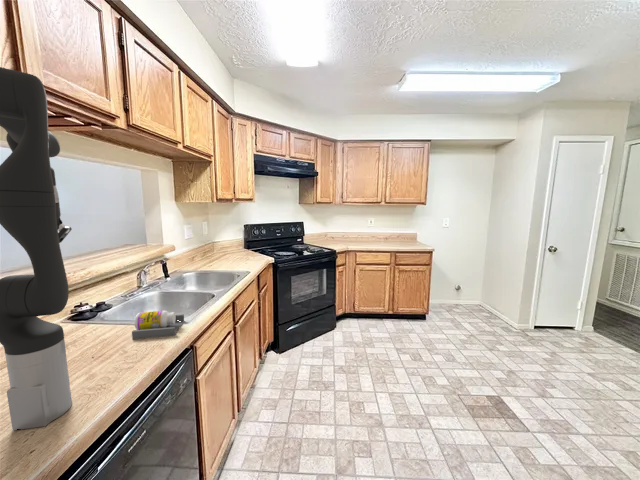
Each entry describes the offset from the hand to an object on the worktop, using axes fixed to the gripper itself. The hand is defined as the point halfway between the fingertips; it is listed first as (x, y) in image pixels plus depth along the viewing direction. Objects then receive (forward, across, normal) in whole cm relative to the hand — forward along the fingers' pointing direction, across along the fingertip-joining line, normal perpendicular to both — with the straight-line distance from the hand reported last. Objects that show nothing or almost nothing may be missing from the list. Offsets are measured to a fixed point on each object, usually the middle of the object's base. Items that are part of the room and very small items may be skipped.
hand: (48, 257), depth 83 cm
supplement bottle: (+28, +17, +13) cm, 36 cm away
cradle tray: (+32, +25, +13) cm, 43 cm away
